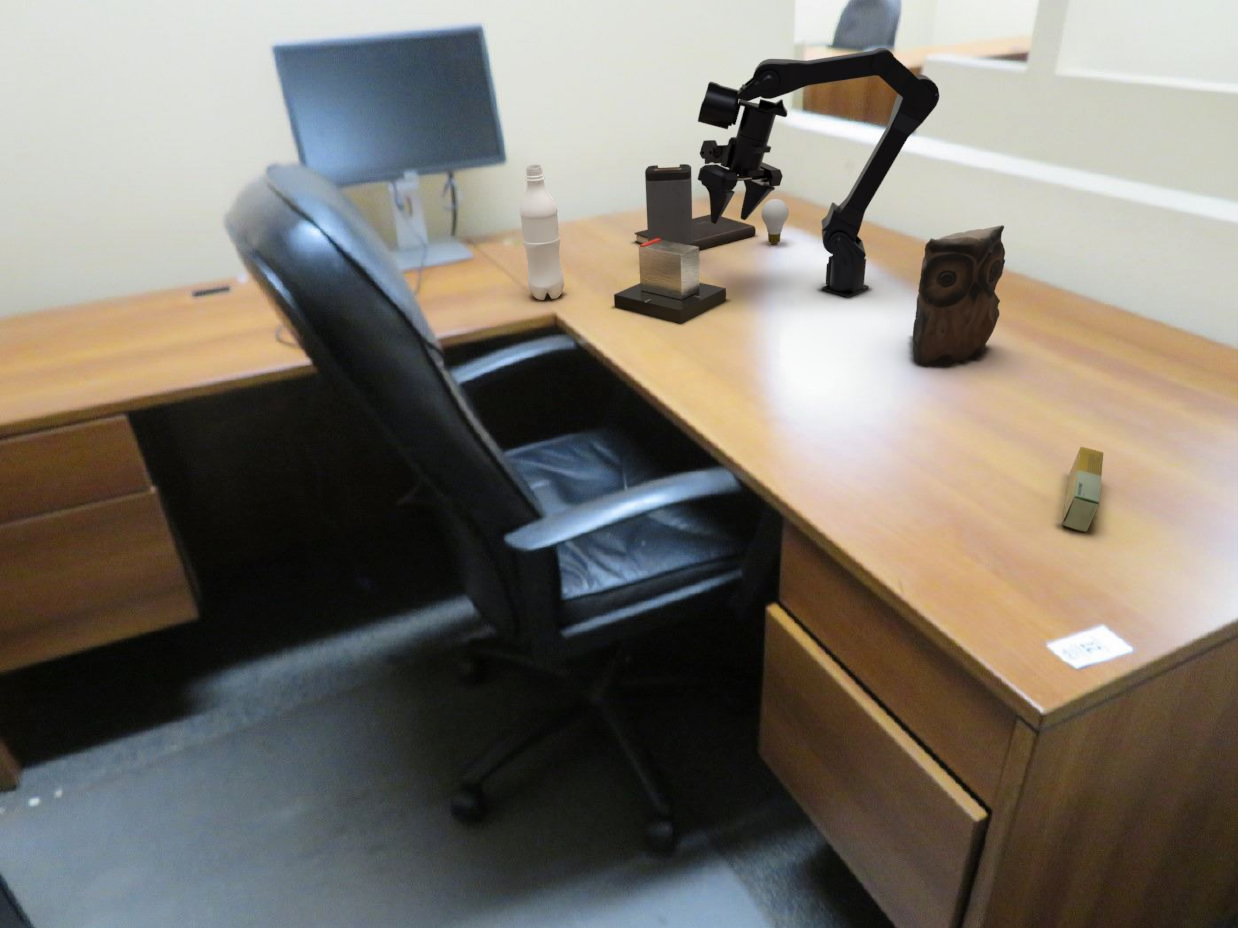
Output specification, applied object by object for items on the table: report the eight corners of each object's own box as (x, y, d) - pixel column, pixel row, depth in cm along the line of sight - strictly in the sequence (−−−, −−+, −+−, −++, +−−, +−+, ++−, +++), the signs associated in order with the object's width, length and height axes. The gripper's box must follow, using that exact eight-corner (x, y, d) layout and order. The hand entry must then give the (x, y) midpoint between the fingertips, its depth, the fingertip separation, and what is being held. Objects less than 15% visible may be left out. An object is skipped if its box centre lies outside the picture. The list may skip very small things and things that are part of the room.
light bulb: (789, 247, 188) (791, 201, 183) (762, 249, 189) (763, 203, 184) (785, 240, 193) (787, 195, 188) (759, 241, 194) (760, 196, 189)
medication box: (1087, 534, 93) (1100, 505, 91) (1061, 526, 94) (1072, 497, 92) (1093, 478, 102) (1104, 450, 100) (1068, 471, 103) (1079, 444, 101)
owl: (994, 346, 137) (1017, 221, 126) (980, 377, 127) (1003, 245, 117) (914, 335, 142) (929, 215, 132) (894, 364, 133) (909, 237, 123)
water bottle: (560, 302, 167) (547, 170, 154) (525, 302, 168) (509, 171, 156) (569, 290, 173) (557, 162, 160) (535, 289, 174) (521, 163, 162)
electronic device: (693, 258, 186) (691, 163, 176) (692, 267, 181) (690, 169, 171) (650, 260, 187) (646, 165, 177) (648, 268, 182) (644, 171, 172)
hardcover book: (634, 242, 199) (634, 232, 198) (712, 223, 209) (712, 213, 208) (675, 257, 187) (675, 247, 186) (755, 236, 198) (755, 226, 196)
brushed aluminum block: (699, 291, 160) (699, 245, 155) (681, 300, 157) (680, 253, 152) (658, 282, 166) (656, 237, 161) (640, 290, 162) (638, 245, 158)
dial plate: (726, 300, 162) (726, 287, 161) (680, 324, 153) (680, 309, 152) (661, 286, 172) (660, 273, 170) (614, 307, 163) (613, 293, 161)
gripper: (748, 122, 162) (725, 203, 171) (686, 122, 150) (665, 209, 158) (795, 141, 157) (769, 223, 165) (735, 142, 144) (710, 231, 152)
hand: (728, 221), depth 160 cm, fingers open, 9 cm apart
